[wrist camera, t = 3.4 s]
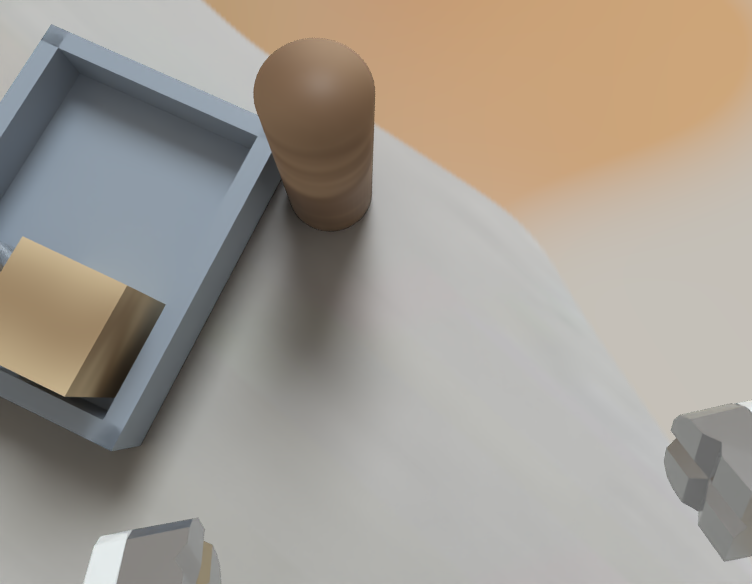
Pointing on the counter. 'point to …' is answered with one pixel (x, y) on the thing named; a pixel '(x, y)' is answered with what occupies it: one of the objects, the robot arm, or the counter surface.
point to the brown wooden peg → (320, 129)
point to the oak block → (70, 323)
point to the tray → (128, 206)
